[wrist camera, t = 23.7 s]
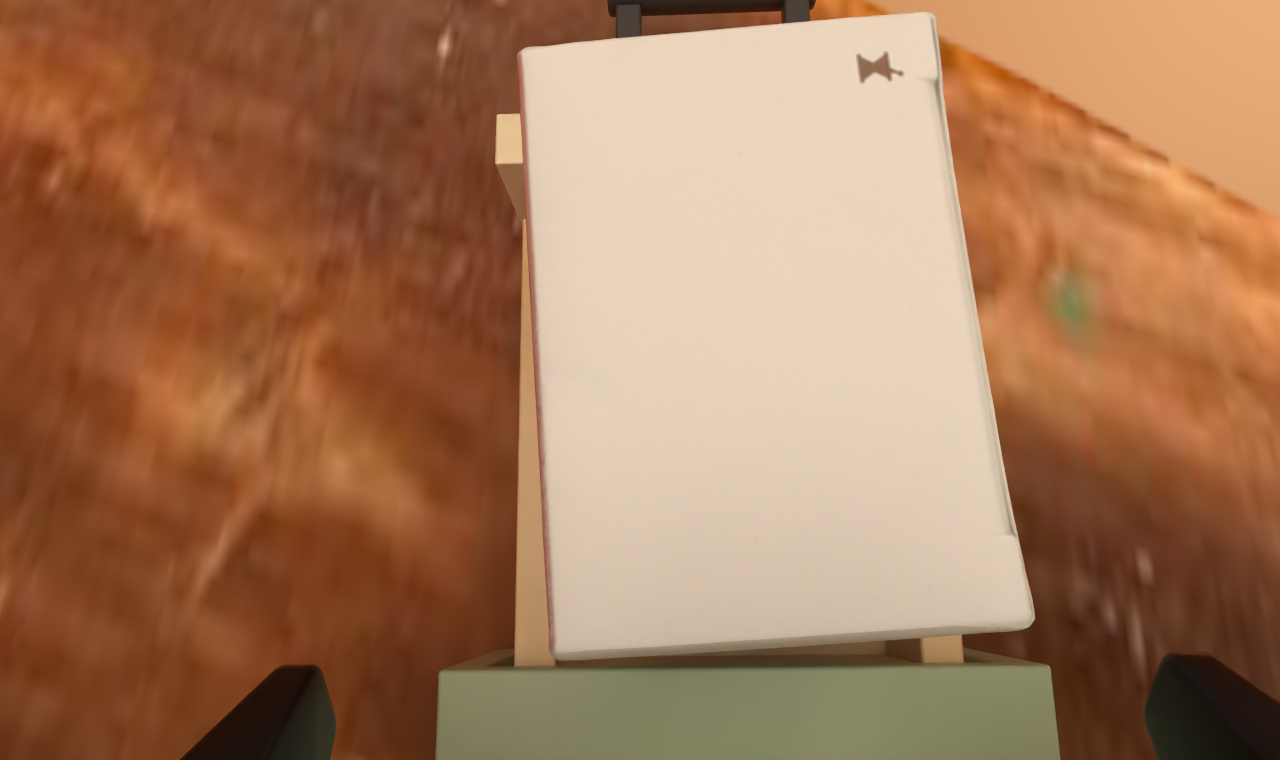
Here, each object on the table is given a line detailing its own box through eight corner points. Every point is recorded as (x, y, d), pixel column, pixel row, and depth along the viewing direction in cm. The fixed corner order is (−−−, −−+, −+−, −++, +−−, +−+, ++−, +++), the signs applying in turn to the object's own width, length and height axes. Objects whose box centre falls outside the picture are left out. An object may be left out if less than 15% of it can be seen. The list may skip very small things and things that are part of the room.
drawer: (530, 30, 25) (501, -80, 21) (885, 18, 24) (926, -96, 20) (518, 690, 21) (479, 714, 17) (940, 686, 21) (1005, 711, 16)
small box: (587, 288, 22) (507, 26, 12) (816, 269, 22) (940, -13, 12) (608, 628, 20) (535, 670, 10) (859, 609, 20) (1049, 633, 10)
